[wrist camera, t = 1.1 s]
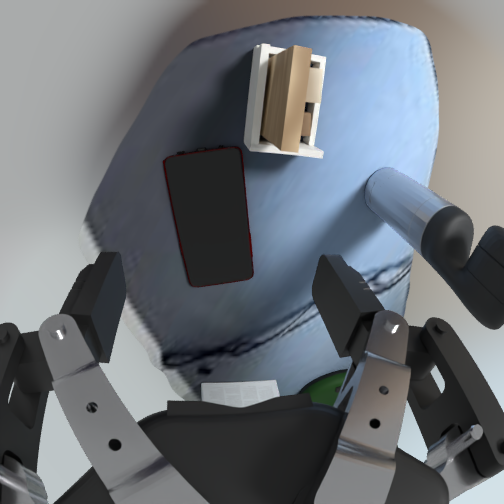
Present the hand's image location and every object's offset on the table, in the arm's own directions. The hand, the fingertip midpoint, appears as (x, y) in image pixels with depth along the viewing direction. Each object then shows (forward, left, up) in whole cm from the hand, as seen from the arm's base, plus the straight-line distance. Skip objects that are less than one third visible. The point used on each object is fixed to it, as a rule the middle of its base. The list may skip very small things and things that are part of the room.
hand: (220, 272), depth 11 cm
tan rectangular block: (-7, -7, -34) cm, 36 cm away
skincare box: (-9, +64, -34) cm, 73 cm away
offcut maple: (-12, -10, -31) cm, 35 cm away
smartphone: (-1, +14, -35) cm, 38 cm away
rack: (-10, -7, -34) cm, 36 cm away
